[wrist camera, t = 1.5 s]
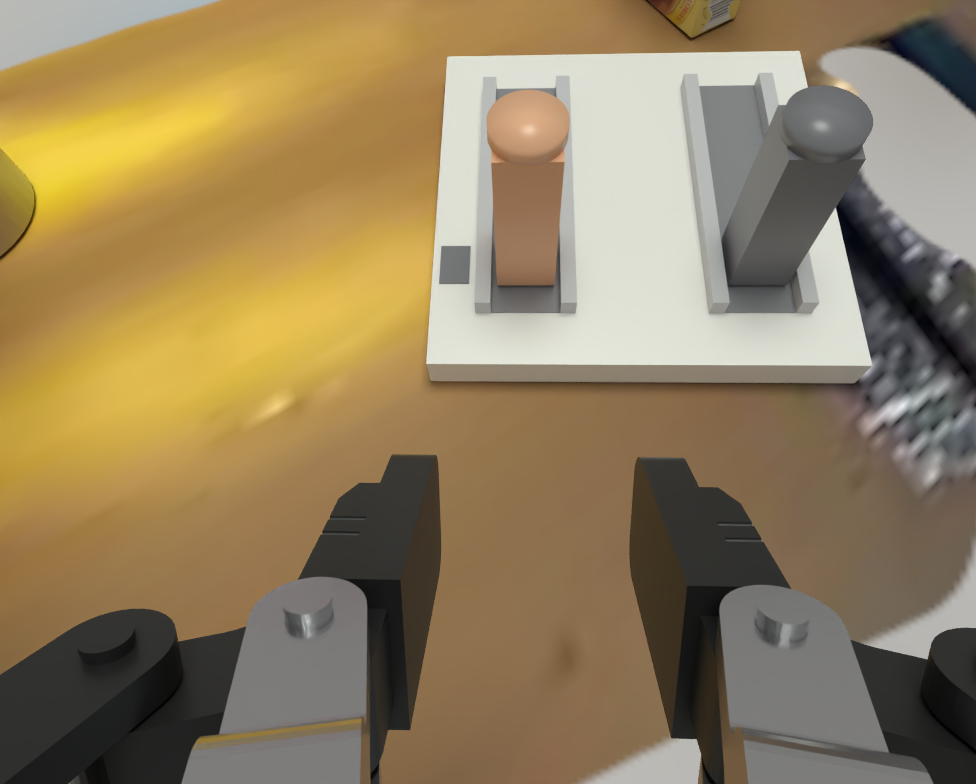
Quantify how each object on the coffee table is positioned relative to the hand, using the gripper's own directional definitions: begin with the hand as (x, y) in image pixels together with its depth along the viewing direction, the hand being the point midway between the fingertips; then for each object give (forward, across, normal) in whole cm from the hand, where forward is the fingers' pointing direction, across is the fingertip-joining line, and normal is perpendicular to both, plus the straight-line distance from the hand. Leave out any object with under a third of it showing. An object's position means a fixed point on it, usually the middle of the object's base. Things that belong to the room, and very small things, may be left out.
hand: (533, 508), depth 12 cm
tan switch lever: (+27, 0, 0) cm, 27 cm away
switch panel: (+32, -6, -1) cm, 33 cm away
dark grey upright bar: (+27, -12, 0) cm, 30 cm away
